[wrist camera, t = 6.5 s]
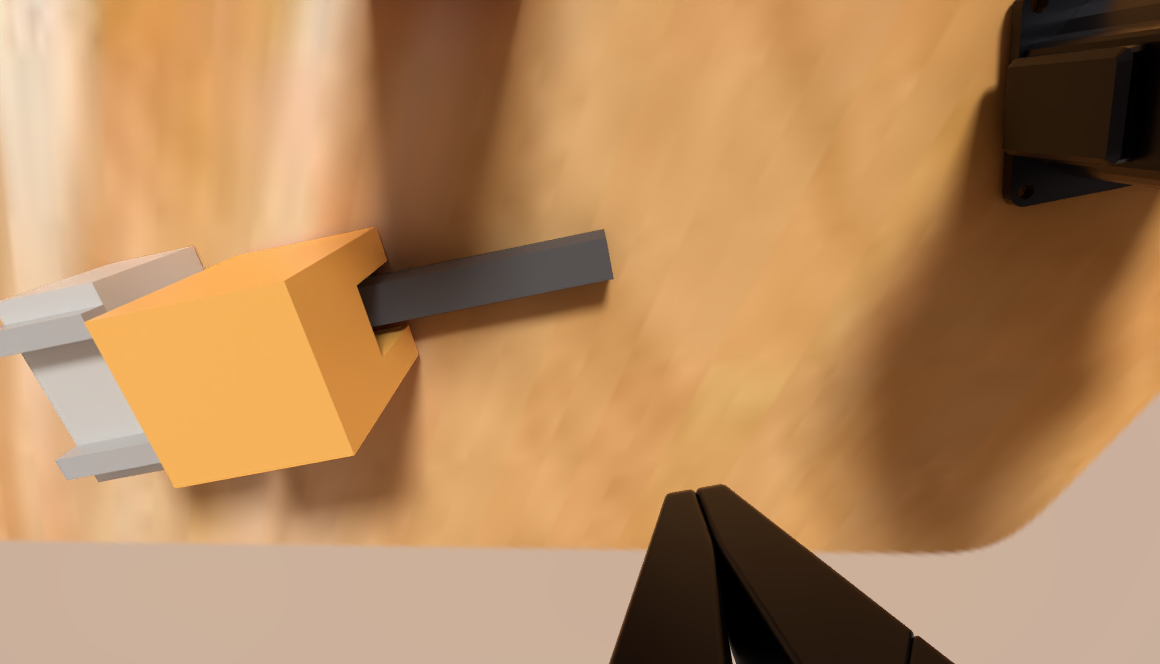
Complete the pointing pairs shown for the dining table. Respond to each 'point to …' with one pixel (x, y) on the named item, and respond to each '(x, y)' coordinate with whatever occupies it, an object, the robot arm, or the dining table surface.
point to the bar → (486, 278)
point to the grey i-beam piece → (89, 359)
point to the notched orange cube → (258, 360)
